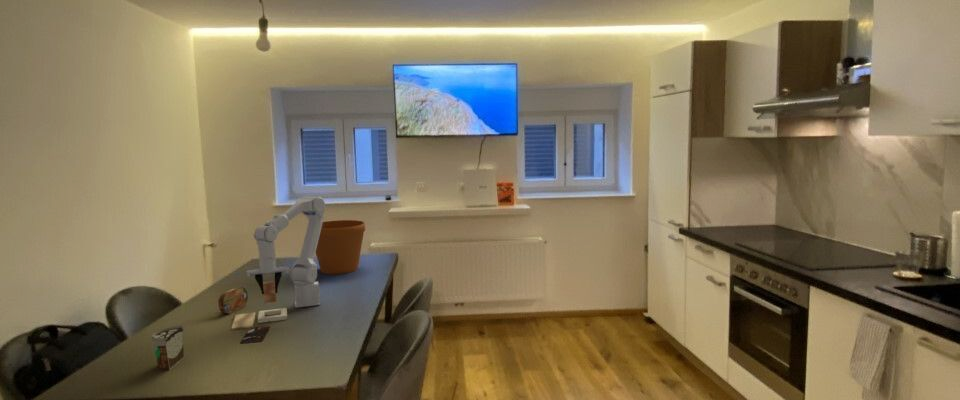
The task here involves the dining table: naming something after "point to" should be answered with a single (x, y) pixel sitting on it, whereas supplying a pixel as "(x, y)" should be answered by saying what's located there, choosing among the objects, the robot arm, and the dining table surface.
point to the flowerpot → (340, 246)
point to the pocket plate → (272, 312)
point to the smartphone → (255, 335)
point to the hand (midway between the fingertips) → (269, 293)
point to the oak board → (243, 321)
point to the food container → (168, 346)
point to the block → (269, 292)
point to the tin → (233, 300)
